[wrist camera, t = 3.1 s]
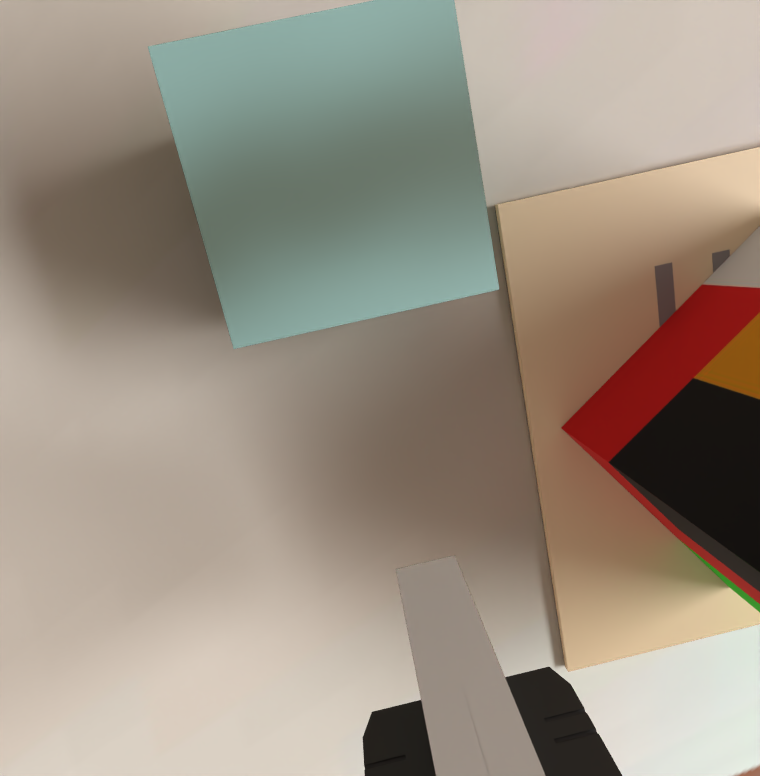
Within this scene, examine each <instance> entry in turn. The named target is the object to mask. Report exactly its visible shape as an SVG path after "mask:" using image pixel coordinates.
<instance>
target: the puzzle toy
mask: <svg viewBox="0 0 760 776" xmlns="http://www.w3.org/2000/svg"><path fill="white" fill-rule="evenodd" d="M561 428H562V429H563V430H564V431H565V432H566V433H567V434H568V435H569V436H570V437H571V438H572V439H573V440H574V441H575V442H576V443H577V444H579V445H580V446H581V447H582V448H583V449H584V450H585V451H586V452H587V453H588V454H589V455H590V456H591V457H592V458H593V459H594V460H595V461H596V462H598V463H599V464H600V465H601V466H602V467H603V468H604V469H605V470H606V471H607V472H608V473H609V474H610V475H611V476H612V477H613V478H614V479H615V480H617V481H618V482H619V483H620V484H621V485H622V486H623V487H624V488H625V489H626V490H627V491H628V492H629V493H630V494H631V495H632V496H633V497H634V498H636V499H637V500H638V501H639V502H640V503H641V504H642V505H643V506H644V507H645V508H646V509H647V510H648V511H649V512H650V513H651V514H652V515H654V516H655V517H656V518H657V519H658V520H659V521H660V522H661V523H662V524H663V525H664V526H665V527H666V528H667V529H668V530H669V531H670V532H671V533H673V534H674V535H675V536H676V537H677V538H678V539H679V540H680V541H681V542H682V543H683V544H684V545H685V546H686V547H687V548H688V549H689V550H690V551H692V552H693V553H694V554H695V555H696V556H697V557H698V558H699V559H700V560H701V561H702V562H703V563H704V564H705V565H706V566H707V567H708V568H709V569H711V570H712V571H713V572H714V573H715V574H716V575H717V576H718V577H719V578H720V579H721V580H722V581H723V582H724V583H725V584H726V585H727V586H728V587H730V588H731V589H732V590H733V591H734V592H736V593H737V594H738V595H739V596H740V597H742V598H743V599H744V600H745V601H747V602H748V603H749V604H750V605H751V606H753V607H754V608H755V609H756V610H757V611H759V612H760V226H759V227H758V228H757V229H756V230H755V231H754V232H753V233H752V234H751V235H750V236H749V237H748V238H747V239H746V240H745V241H744V242H743V243H742V244H741V245H740V246H739V247H738V248H737V249H736V250H735V251H734V252H733V253H732V254H731V255H730V256H729V257H728V258H727V259H726V261H725V262H724V263H723V264H722V265H721V266H720V267H719V268H718V269H717V270H716V271H715V272H714V273H713V274H712V275H711V276H710V277H709V278H708V279H707V280H706V281H705V282H704V283H703V284H702V285H701V286H700V287H699V288H698V289H697V290H696V291H695V292H694V293H693V294H692V295H691V296H690V297H689V298H688V299H687V300H686V301H685V302H684V303H683V304H682V305H681V306H680V307H679V308H678V309H677V310H676V311H675V312H674V313H673V314H672V315H671V316H670V317H669V318H668V319H667V320H666V321H665V323H664V324H663V325H662V326H661V327H660V328H659V329H658V330H657V331H656V332H655V333H654V334H653V335H652V336H651V337H650V338H649V339H648V340H647V341H646V342H645V343H644V344H643V345H642V346H641V347H640V348H639V349H638V350H637V351H636V352H635V353H634V354H633V355H632V356H631V357H630V358H629V359H628V360H627V361H626V362H625V363H624V364H623V365H622V366H621V367H620V368H619V369H618V370H617V371H616V372H615V373H614V374H613V375H612V376H611V377H610V378H609V379H608V380H607V381H606V382H605V383H604V385H603V386H602V387H601V388H600V389H599V390H598V391H597V392H596V393H595V394H594V395H593V396H592V397H591V398H590V399H589V400H588V401H587V402H586V403H585V404H584V405H583V406H582V407H581V408H580V409H579V410H578V411H577V412H576V413H575V414H574V415H573V416H572V417H571V418H570V419H569V420H568V421H567V422H566V423H565V424H564V425H563V426H562V427H561Z"/></svg>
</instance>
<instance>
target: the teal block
mask: <svg viewBox="0 0 760 776" xmlns="http://www.w3.org/2000/svg"><path fill="white" fill-rule="evenodd" d="M148 49H149V52H150V56H151V59H152V63H153V66H154V70H155V73H156V77H157V81H158V84H159V88H160V91H161V95H162V98H163V102H164V105H165V109H166V112H167V116H168V119H169V123H170V126H171V130H172V133H173V137H174V140H175V144H176V147H177V151H178V154H179V158H180V161H181V165H182V168H183V172H184V176H185V179H186V183H187V186H188V190H189V193H190V197H191V200H192V204H193V207H194V211H195V214H196V218H197V221H198V225H199V228H200V232H201V235H202V239H203V242H204V246H205V249H206V253H207V256H208V260H209V264H210V267H211V271H212V274H213V278H214V281H215V285H216V288H217V292H218V295H219V299H220V302H221V306H222V309H223V313H224V316H225V320H226V323H227V327H228V330H229V334H230V337H231V341H232V344H233V348H234V349H236V348H241V347H245V346H250V345H254V344H259V343H263V342H268V341H272V340H277V339H281V338H285V337H290V336H294V335H299V334H303V333H308V332H312V331H317V330H321V329H326V328H330V327H335V326H339V325H344V324H348V323H352V322H357V321H361V320H366V319H370V318H375V317H379V316H384V315H388V314H393V313H397V312H402V311H406V310H410V309H415V308H419V307H424V306H428V305H433V304H437V303H442V302H446V301H451V300H455V299H460V298H464V297H469V296H473V295H477V294H482V293H486V292H491V291H495V290H499V284H498V278H497V271H496V265H495V259H494V252H493V246H492V239H491V233H490V227H489V220H488V214H487V207H486V201H485V195H484V188H483V182H482V175H481V169H480V163H479V156H478V150H477V143H476V137H475V131H474V124H473V118H472V111H471V105H470V99H469V92H468V86H467V79H466V73H465V67H464V60H463V54H462V47H461V41H460V35H459V28H458V22H457V15H456V9H455V2H454V0H374V1H369V2H364V3H359V4H354V5H349V6H344V7H340V8H335V9H330V10H325V11H320V12H315V13H310V14H305V15H300V16H296V17H291V18H286V19H281V20H276V21H271V22H266V23H261V24H256V25H252V26H247V27H242V28H237V29H232V30H227V31H222V32H217V33H212V34H207V35H203V36H198V37H193V38H188V39H183V40H178V41H173V42H168V43H163V44H159V45H154V46H149V47H148Z"/></svg>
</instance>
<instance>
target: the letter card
mask: <svg viewBox="0 0 760 776" xmlns="http://www.w3.org/2000/svg"><path fill="white" fill-rule="evenodd" d="M495 209H496V215H497V222H498V229H499V235H500V242H501V248H502V255H503V261H504V268H505V275H506V281H507V288H508V294H509V301H510V307H511V314H512V321H513V327H514V334H515V340H516V347H517V353H518V360H519V367H520V373H521V380H522V386H523V393H524V399H525V406H526V413H527V419H528V426H529V432H530V439H531V445H532V452H533V459H534V465H535V472H536V478H537V485H538V491H539V498H540V505H541V511H542V518H543V524H544V531H545V537H546V544H547V551H548V557H549V564H550V570H551V577H552V583H553V590H554V597H555V603H556V610H557V616H558V623H559V629H560V636H561V643H562V649H563V656H564V662H565V667H566V669H567V670H568V672H570V671H574V670H578V669H582V668H586V667H590V666H594V665H598V664H602V663H606V662H610V661H614V660H618V659H622V658H626V657H630V656H634V655H638V654H642V653H646V652H650V651H654V650H658V649H662V648H666V647H670V646H674V645H678V644H682V643H686V642H690V641H694V640H698V639H702V638H706V637H710V636H714V635H718V634H722V633H726V632H730V631H734V630H738V629H742V628H746V627H750V626H754V625H758V624H760V612H759V611H757V610H756V609H755V608H754V607H753V606H751V605H750V604H749V603H748V602H747V601H745V600H744V599H743V598H742V597H740V596H739V595H738V594H737V593H736V592H734V591H733V590H732V589H731V588H730V587H728V586H727V585H726V584H725V583H724V582H723V581H722V580H721V579H720V578H719V577H718V576H717V575H716V574H715V573H714V572H713V571H712V570H711V569H709V568H708V567H707V566H706V565H705V564H704V563H703V562H702V561H701V560H700V559H699V558H698V557H697V556H696V555H695V554H694V553H693V552H692V551H690V550H689V549H688V548H687V547H686V546H685V545H684V544H683V543H682V542H681V541H680V540H679V539H678V538H677V537H676V536H675V535H674V534H673V533H671V532H670V531H669V530H668V529H667V528H666V527H665V526H664V525H663V524H662V523H661V522H660V521H659V520H658V519H657V518H656V517H655V516H654V515H652V514H651V513H650V512H649V511H648V510H647V509H646V508H645V507H644V506H643V505H642V504H641V503H640V502H639V501H638V500H637V499H636V498H634V497H633V496H632V495H631V494H630V493H629V492H628V491H627V490H626V489H625V488H624V487H623V486H622V485H621V484H620V483H619V482H618V481H617V480H615V479H614V478H613V477H612V476H611V475H610V474H609V473H608V472H607V471H606V470H605V469H604V468H603V467H602V466H601V465H600V464H599V463H598V462H596V461H595V460H594V459H593V458H592V457H591V456H590V455H589V454H588V453H587V452H586V451H585V450H584V449H583V448H582V447H581V446H580V445H579V444H577V443H576V442H575V441H574V440H573V439H572V438H571V437H570V436H569V435H568V434H567V433H566V432H565V431H564V430H563V429H562V428H561V427H562V426H563V425H564V424H565V423H566V422H567V421H568V420H569V419H570V418H571V417H572V416H573V415H574V414H575V413H576V412H577V411H578V410H579V409H580V408H581V407H582V406H583V405H584V404H585V403H586V402H587V401H588V400H589V399H590V398H591V397H592V396H593V395H594V394H595V393H596V392H597V391H598V390H599V389H600V388H601V387H602V386H603V385H604V383H605V382H606V381H607V380H608V379H609V378H610V377H611V376H612V375H613V374H614V373H615V372H616V371H617V370H618V369H619V368H620V367H621V366H622V365H623V364H624V363H625V362H626V361H627V360H628V359H629V358H630V357H631V356H632V355H633V354H634V353H635V352H636V351H637V350H638V349H639V348H640V347H641V346H642V345H643V344H644V343H645V342H646V341H647V340H648V339H649V338H650V337H651V336H652V335H653V334H654V333H655V332H656V331H657V330H658V329H659V328H660V327H661V326H662V325H663V324H664V323H665V321H666V320H667V319H668V318H669V317H670V316H671V315H672V314H673V313H674V312H675V311H676V310H677V309H678V308H679V307H680V306H681V305H682V304H683V303H684V302H685V301H686V300H687V299H688V298H689V297H690V296H691V295H692V294H693V293H694V292H695V291H696V290H697V289H698V288H699V287H700V286H701V285H702V284H703V283H704V282H705V281H706V280H707V279H708V278H709V277H710V276H711V275H712V274H713V273H714V272H715V271H716V270H717V269H718V268H719V267H720V266H721V265H722V264H723V263H724V262H725V261H726V259H727V258H728V257H729V256H730V255H731V254H732V253H733V252H734V251H735V250H736V249H737V248H738V247H739V246H740V245H741V244H742V243H743V242H744V241H745V240H746V239H747V238H748V237H749V236H750V235H751V234H752V233H753V232H754V231H755V230H756V229H757V228H758V227H759V226H760V147H757V148H753V149H748V150H744V151H739V152H735V153H730V154H725V155H721V156H716V157H712V158H707V159H703V160H698V161H693V162H689V163H684V164H680V165H675V166H671V167H666V168H661V169H657V170H652V171H648V172H643V173H639V174H634V175H630V176H625V177H620V178H616V179H611V180H607V181H602V182H598V183H593V184H588V185H584V186H579V187H575V188H570V189H566V190H561V191H556V192H552V193H547V194H543V195H538V196H534V197H529V198H524V199H520V200H515V201H511V202H506V203H502V204H497V205H495Z"/></svg>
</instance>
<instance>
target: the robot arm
mask: <svg viewBox="0 0 760 776" xmlns="http://www.w3.org/2000/svg"><path fill="white" fill-rule="evenodd" d="M396 573H397V578H398V583H399V588H400V594H401V599H402V604H403V609H404V614H405V619H406V624H407V629H408V635H409V640H410V645H411V650H412V655H413V660H414V665H415V670H416V676H417V681H418V686H419V691H420V696H421V700H419V701H415V702H411V703H407V704H403V705H399V706H395V707H390V708H386V709H382V710H378V711H374V712H372V714H371V716H370V719H369V722H368V725H367V727H366V730H365V733H364V736H363V750H364V766H365V776H622V774H621V773H620V771H619V769H618V767H617V766H616V764H615V762H614V760H613V758H612V757H611V755H610V753H609V751H608V750H607V748H606V746H605V744H604V742H603V741H602V739H601V737H600V735H599V734H597V732H596V728H595V727H594V725H593V723H592V721H591V719H590V718H589V716H588V714H587V713H586V712H585V710H584V707H583V705H582V703H581V702H580V700H579V698H578V696H577V695H576V693H575V691H574V689H573V688H572V686H571V684H570V683H568V682H567V681H566V680H565V679H564V678H562V677H561V676H560V675H559V674H557V673H556V672H555V671H554V670H552V669H551V668H550V667H546V668H542V669H538V670H534V671H529V672H525V673H521V674H517V675H513V676H509V677H505V676H504V674H503V671H502V669H501V666H500V664H499V662H498V659H497V657H496V654H495V652H494V649H493V647H492V645H491V642H490V640H489V637H488V635H487V632H486V630H485V628H484V625H483V623H482V620H481V618H480V615H479V613H478V611H477V608H476V606H475V603H474V601H473V599H472V596H471V594H470V591H469V589H468V586H467V584H466V582H465V579H464V577H463V574H462V572H461V569H460V567H459V565H458V562H457V560H456V557H455V555H453V556H449V557H445V558H441V559H437V560H432V561H428V562H424V563H420V564H416V565H411V566H407V567H403V568H399V569H396Z"/></svg>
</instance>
